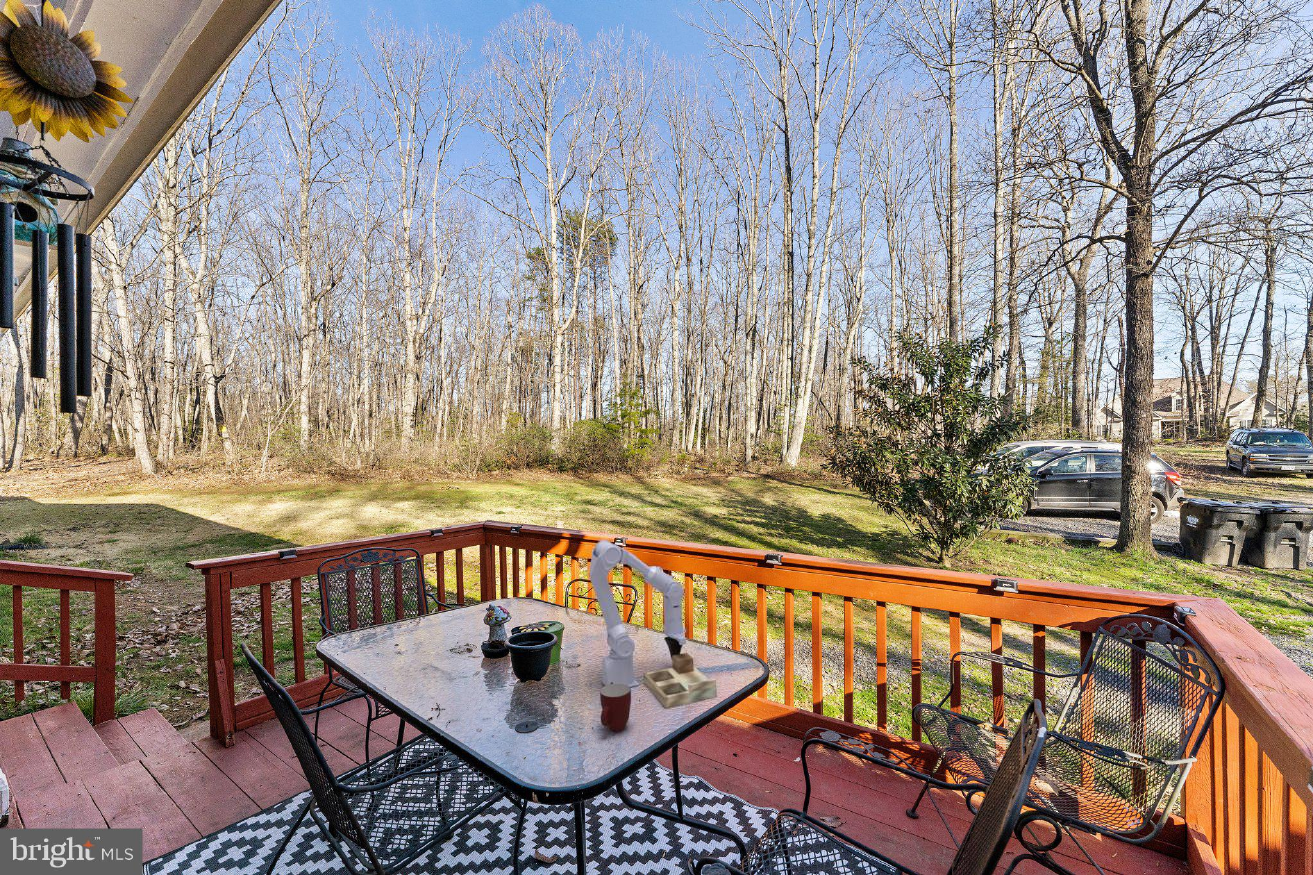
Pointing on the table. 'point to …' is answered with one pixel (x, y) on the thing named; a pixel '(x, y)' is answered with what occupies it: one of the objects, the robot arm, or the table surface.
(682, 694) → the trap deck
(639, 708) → the table surface
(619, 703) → the mug
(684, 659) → the walnut block
